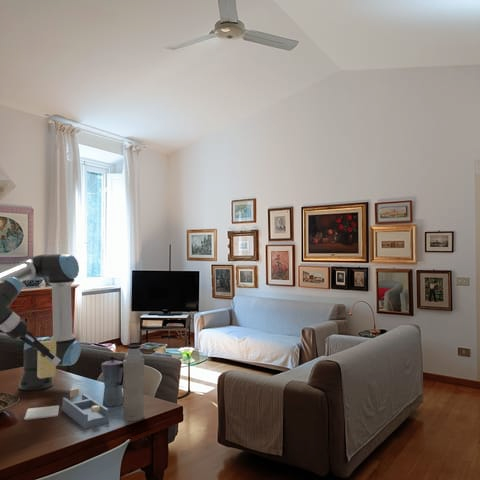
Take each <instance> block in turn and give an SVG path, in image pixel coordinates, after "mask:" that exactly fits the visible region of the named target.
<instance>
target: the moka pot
mask: <svg viewBox="0 0 480 480" xmlns="http://www.w3.org/2000/svg"><path fill="white" fill-rule="evenodd" d="M100 367H101V372H102V373H101V374H102V379H103V380H102V381H103V382H104V383H103V384H104V385H103V386H104V387H103V397H102V405H103V406H104V407H116V406H122V405H123V360H115V356H110V360H108V361H103V362H102V363H101V364H100Z"/></svg>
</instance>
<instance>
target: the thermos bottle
mask: <svg viewBox="0 0 480 480" xmlns="http://www.w3.org/2000/svg"><path fill="white" fill-rule="evenodd" d="M143 357H144V356H143V353H142V352H141V344H129V345H127V352H126V353H125V355H124V359H123V360H122V362H123V385H122V393H123V404H122V420H124V421H127V422H133V421H134V422H136V421H139V420H143V418H144V417H145V398H144V394H145V359H144V358H143Z"/></svg>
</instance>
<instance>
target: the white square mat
mask: <svg viewBox="0 0 480 480" xmlns="http://www.w3.org/2000/svg"><path fill="white" fill-rule="evenodd" d="M59 409H60V405H50V406H40V407H31V408H27V410H26V413H25V416H24V418H23V420H24V421H28V420H29V421H30V420H36V419H38V420H39V419H43V418H44V419H45V418H52V417H53V418H55V417H58V416H59Z"/></svg>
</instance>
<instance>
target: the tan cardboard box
mask: <svg viewBox="0 0 480 480" xmlns="http://www.w3.org/2000/svg"><path fill="white" fill-rule="evenodd" d="M40 342H41V343H42V344H43V345H44V346H45V347H46V348H48V349H49V350H50V351H51V352H52V353H53V354H54V355H55V356H56V341H55V340H48V341H40ZM42 356H43V354H42V353H41V352H40V351H38V356H37V377H38V378H40V379H42V378H47V377H53V378H54V377H56V376H57V375H56V374H57V366H56V365H54V364H53V363H52V362H51V361H50V360H48V359H47V358H46V357H42Z"/></svg>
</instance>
